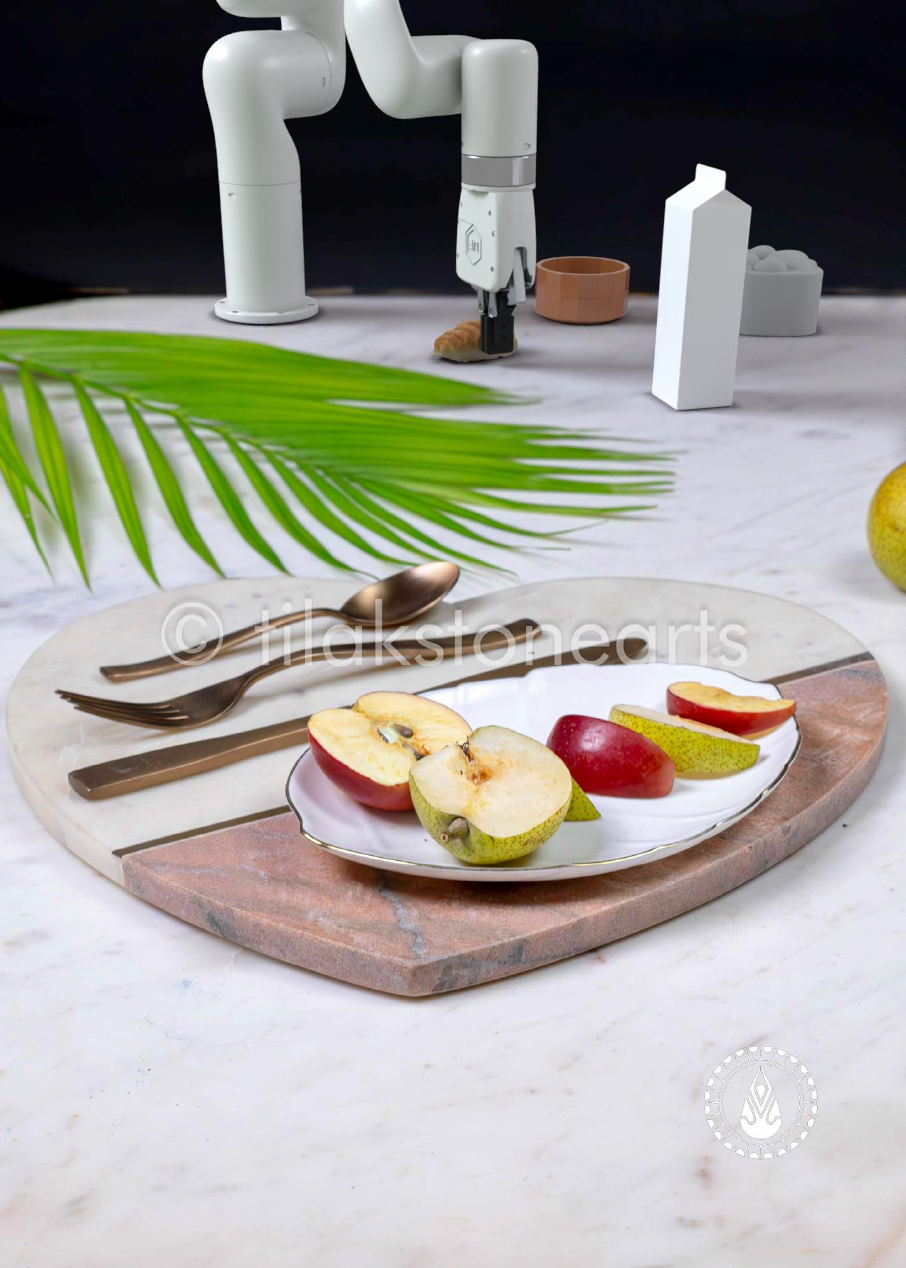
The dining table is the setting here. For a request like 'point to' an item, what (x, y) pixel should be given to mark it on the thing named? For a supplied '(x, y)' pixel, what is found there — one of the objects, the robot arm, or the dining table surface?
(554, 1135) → the dining table surface
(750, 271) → the lumpy-topped squat cylinder
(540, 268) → the bowl
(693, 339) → the milk
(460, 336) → the pastry
